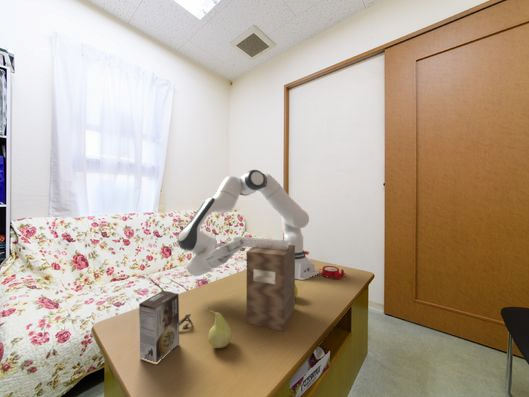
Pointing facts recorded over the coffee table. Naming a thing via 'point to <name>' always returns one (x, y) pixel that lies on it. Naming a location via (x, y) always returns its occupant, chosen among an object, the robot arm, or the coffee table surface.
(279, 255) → the brown patterned box
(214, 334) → the fruit
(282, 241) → the aluminium bar
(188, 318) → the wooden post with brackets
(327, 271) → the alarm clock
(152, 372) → the coffee table surface
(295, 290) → the tennis ball
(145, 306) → the coffee box
